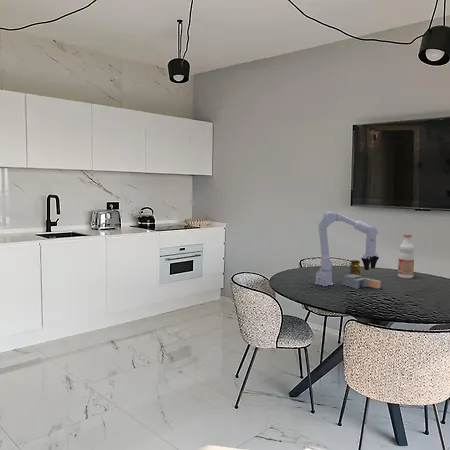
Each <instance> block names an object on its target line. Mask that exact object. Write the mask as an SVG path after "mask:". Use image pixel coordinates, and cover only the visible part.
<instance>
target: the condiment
mask: <svg viewBox="0 0 450 450" xmlns="http://www.w3.org/2000/svg"><path fill="white" fill-rule="evenodd" d="M360 263H361V262H360V260H358V259H357V260H356V259H352V260H351V261H350V266H349V267H350V268H349V275H352V274H355V275H359V276H361V274H360V273H361V264H360Z"/></svg>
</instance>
